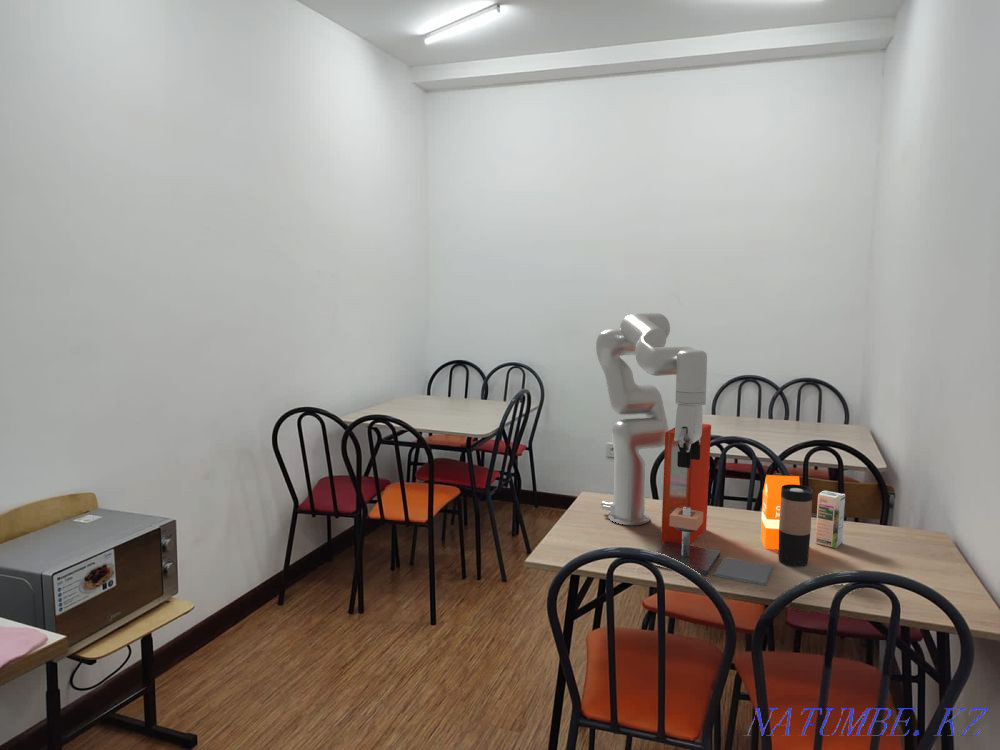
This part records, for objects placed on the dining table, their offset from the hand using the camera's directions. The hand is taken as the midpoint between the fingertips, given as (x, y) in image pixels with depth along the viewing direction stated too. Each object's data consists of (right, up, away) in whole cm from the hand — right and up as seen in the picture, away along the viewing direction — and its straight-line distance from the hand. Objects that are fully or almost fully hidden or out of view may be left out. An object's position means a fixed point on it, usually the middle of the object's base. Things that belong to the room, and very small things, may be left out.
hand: (688, 463), depth 183 cm
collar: (0, -16, +2) cm, 17 cm away
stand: (0, -26, +4) cm, 27 cm away
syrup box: (+44, -25, +16) cm, 53 cm away
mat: (+13, -27, -4) cm, 30 cm away
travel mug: (+28, -27, +3) cm, 39 cm away
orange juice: (+29, -25, +15) cm, 41 cm away
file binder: (+5, -24, +22) cm, 33 cm away
